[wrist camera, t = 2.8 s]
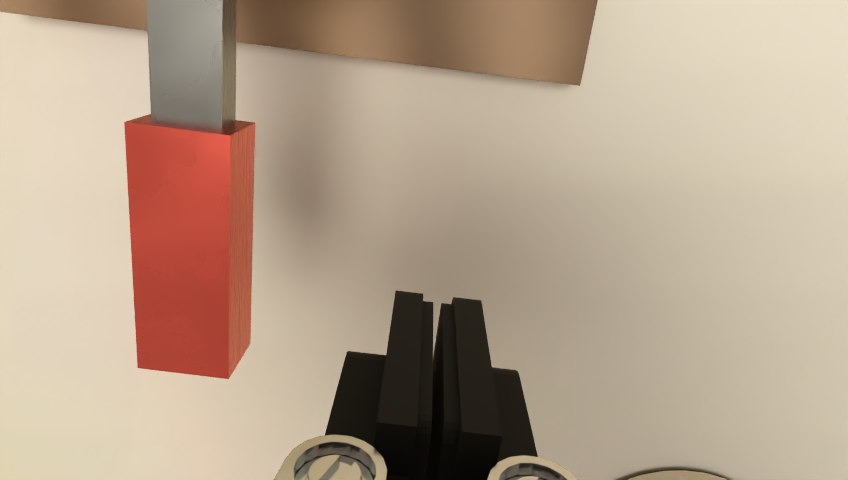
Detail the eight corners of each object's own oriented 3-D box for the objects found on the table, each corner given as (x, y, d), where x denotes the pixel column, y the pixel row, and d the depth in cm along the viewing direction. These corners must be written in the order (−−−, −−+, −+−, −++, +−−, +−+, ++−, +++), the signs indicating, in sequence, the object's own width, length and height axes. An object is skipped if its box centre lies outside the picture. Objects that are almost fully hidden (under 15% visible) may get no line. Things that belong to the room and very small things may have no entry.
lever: (277, -283, 13) (236, -359, 11) (259, 344, 19) (229, 396, 16) (134, -302, 13) (57, -383, 11) (158, 332, 19) (112, 382, 16)
